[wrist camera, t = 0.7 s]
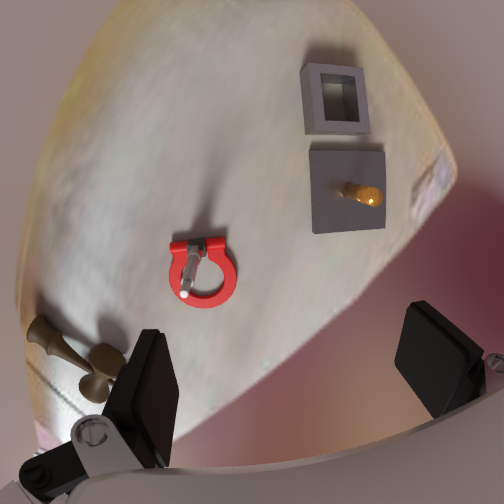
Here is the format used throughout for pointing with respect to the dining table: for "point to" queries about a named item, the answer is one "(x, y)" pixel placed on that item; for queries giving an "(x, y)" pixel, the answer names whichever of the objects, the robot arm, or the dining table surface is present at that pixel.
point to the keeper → (347, 190)
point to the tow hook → (191, 257)
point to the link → (351, 93)
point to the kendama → (81, 360)
